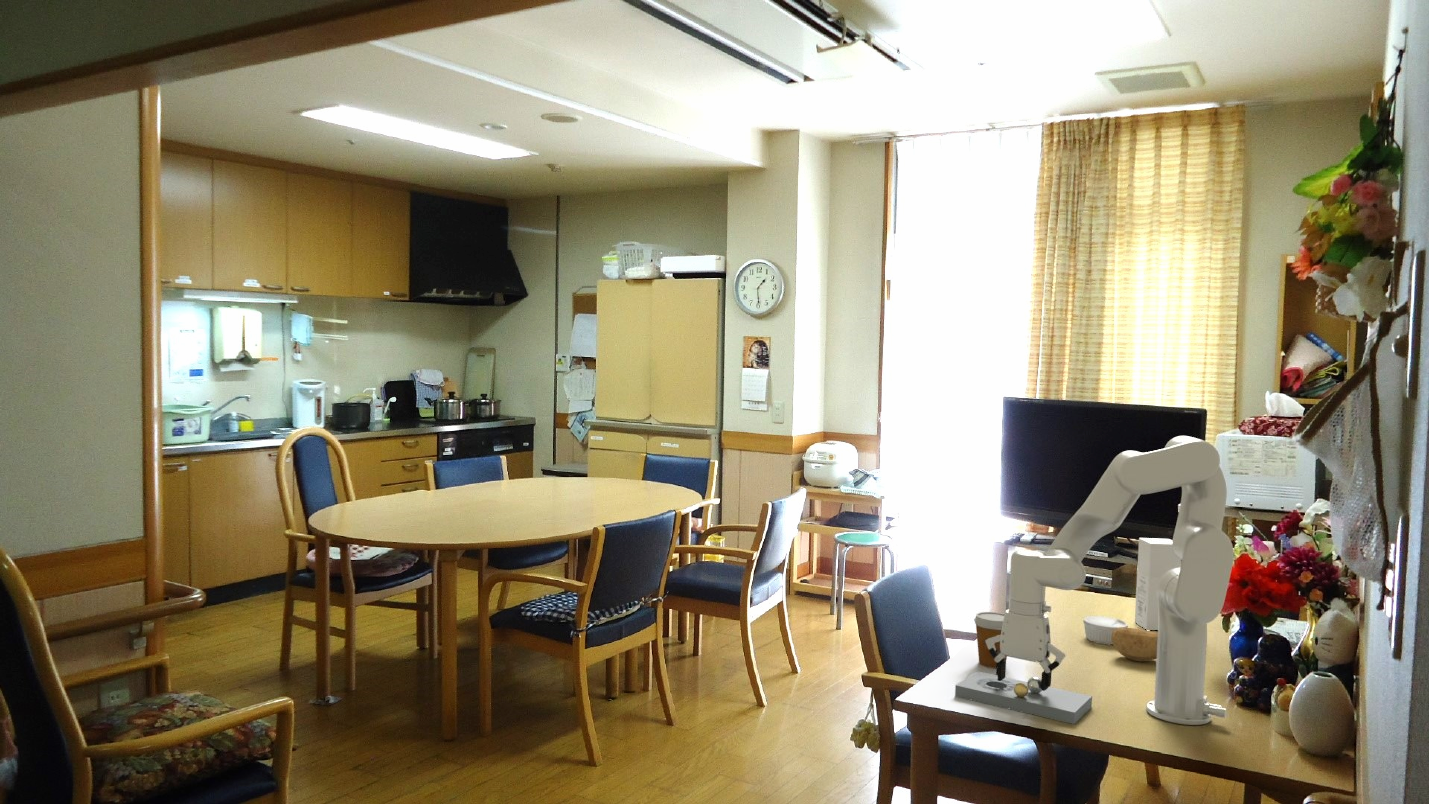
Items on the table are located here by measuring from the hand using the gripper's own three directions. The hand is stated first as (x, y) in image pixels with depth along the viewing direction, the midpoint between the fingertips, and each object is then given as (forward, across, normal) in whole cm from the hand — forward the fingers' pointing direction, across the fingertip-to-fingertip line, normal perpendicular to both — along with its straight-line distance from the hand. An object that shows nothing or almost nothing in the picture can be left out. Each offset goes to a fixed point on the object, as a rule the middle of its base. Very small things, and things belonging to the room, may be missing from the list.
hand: (1022, 684), depth 219 cm
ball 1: (0, -1, +4) cm, 5 cm away
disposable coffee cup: (+4, +15, -22) cm, 27 cm away
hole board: (+4, 0, 0) cm, 4 cm away
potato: (+4, -13, -51) cm, 53 cm away
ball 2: (0, -3, 0) cm, 3 cm away
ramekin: (+4, -1, -64) cm, 64 cm away
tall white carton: (+4, -10, -88) cm, 89 cm away
